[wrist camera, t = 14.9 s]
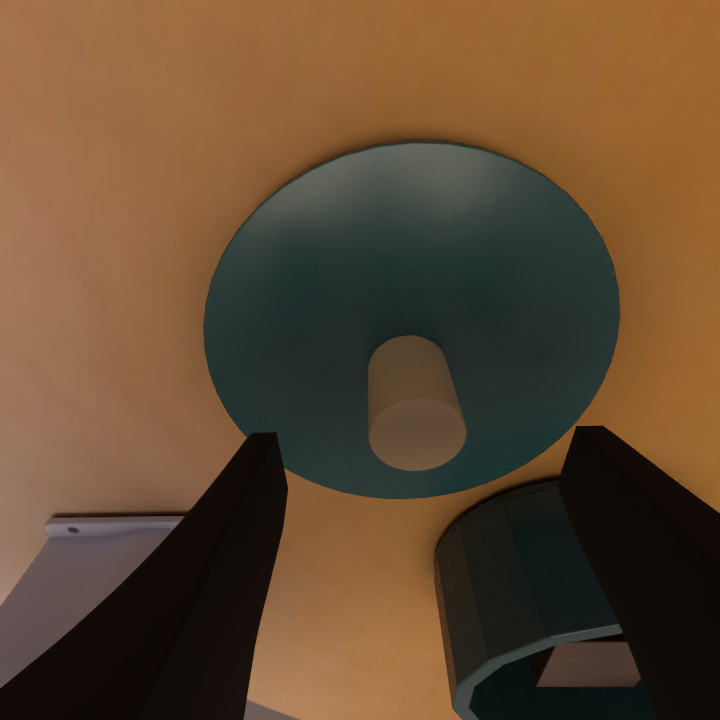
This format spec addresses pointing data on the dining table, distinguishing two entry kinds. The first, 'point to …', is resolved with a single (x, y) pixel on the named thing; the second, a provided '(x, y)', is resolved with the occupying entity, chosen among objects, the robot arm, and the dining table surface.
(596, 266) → the cover
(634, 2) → the dining table surface
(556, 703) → the container
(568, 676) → the block
